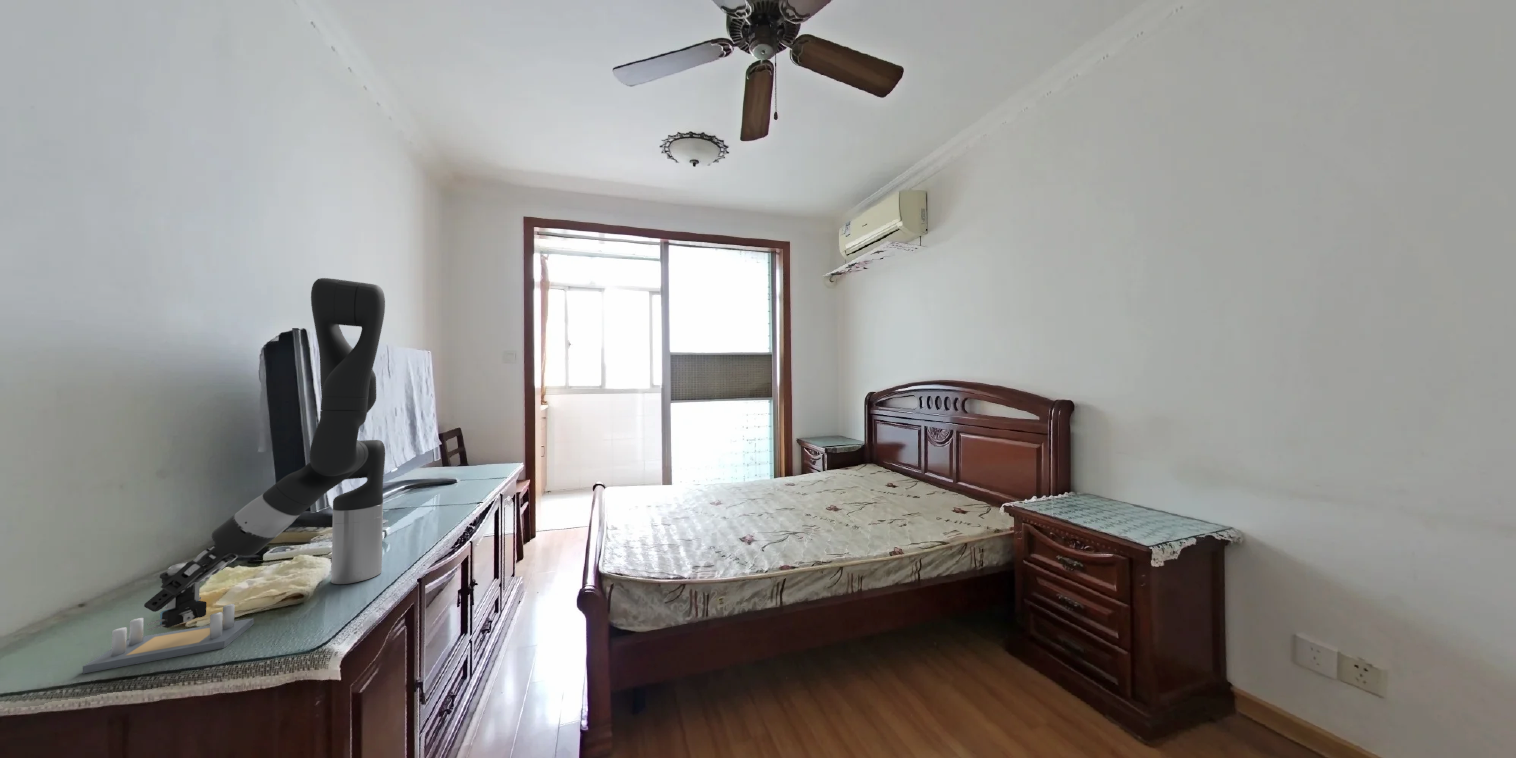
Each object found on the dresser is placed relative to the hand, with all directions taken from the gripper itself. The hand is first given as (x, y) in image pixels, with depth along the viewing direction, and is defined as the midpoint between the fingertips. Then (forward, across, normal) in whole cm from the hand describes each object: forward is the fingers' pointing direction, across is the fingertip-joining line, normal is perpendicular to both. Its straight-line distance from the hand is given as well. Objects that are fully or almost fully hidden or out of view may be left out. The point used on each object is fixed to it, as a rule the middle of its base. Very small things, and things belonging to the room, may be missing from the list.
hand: (162, 601), depth 79 cm
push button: (+2, 0, +4) cm, 5 cm away
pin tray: (+5, 0, +7) cm, 8 cm away
